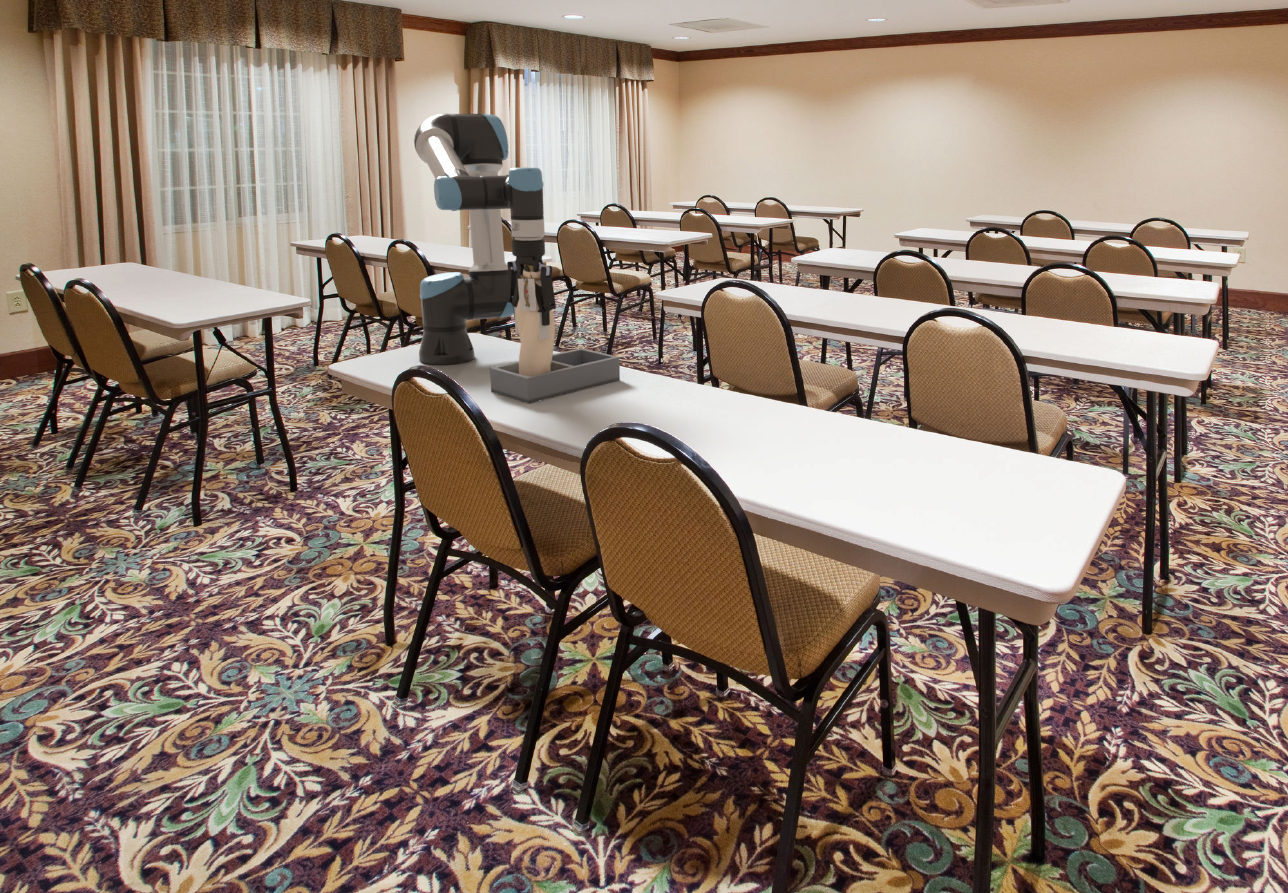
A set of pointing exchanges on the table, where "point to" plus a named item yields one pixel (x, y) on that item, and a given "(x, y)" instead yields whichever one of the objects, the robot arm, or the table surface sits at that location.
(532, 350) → the water bottle
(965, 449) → the table surface
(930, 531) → the table surface
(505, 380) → the bottle caddy
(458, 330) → the robot arm
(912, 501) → the table surface
